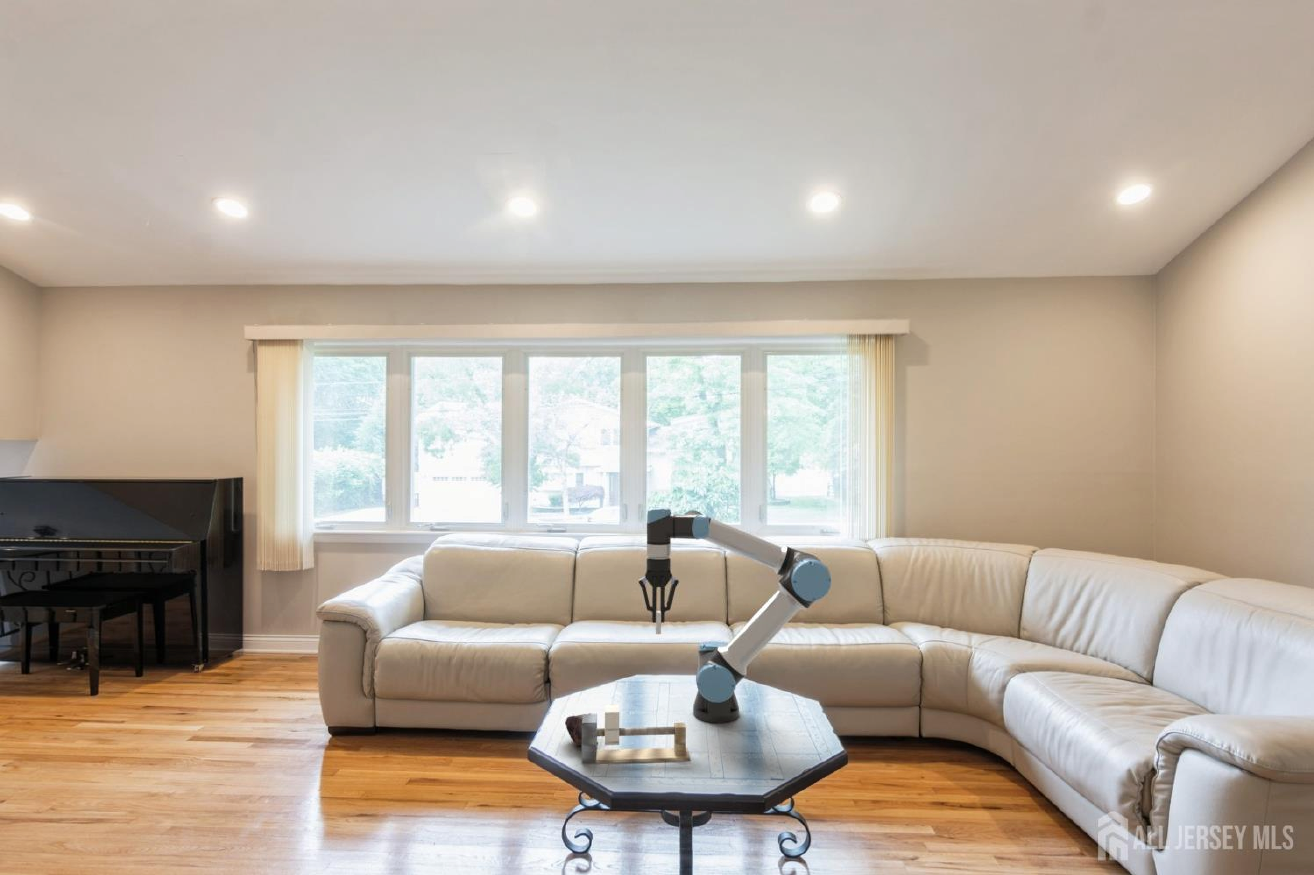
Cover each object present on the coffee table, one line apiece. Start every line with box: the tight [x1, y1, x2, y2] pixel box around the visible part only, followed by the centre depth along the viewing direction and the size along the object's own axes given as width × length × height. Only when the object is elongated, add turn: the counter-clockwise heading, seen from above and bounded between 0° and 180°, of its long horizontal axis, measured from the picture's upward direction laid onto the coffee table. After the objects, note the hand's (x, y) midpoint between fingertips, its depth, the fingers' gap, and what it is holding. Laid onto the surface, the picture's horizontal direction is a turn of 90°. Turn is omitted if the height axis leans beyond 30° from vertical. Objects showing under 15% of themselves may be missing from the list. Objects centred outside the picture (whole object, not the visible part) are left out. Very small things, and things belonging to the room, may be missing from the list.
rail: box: [581, 713, 691, 764], centre depth 175 cm, size 30×6×11 cm, turn 94°
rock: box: [564, 712, 599, 747], centre depth 184 cm, size 12×9×10 cm
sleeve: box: [604, 704, 620, 746], centre depth 175 cm, size 4×5×9 cm
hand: (658, 632), depth 194 cm, fingers closed
